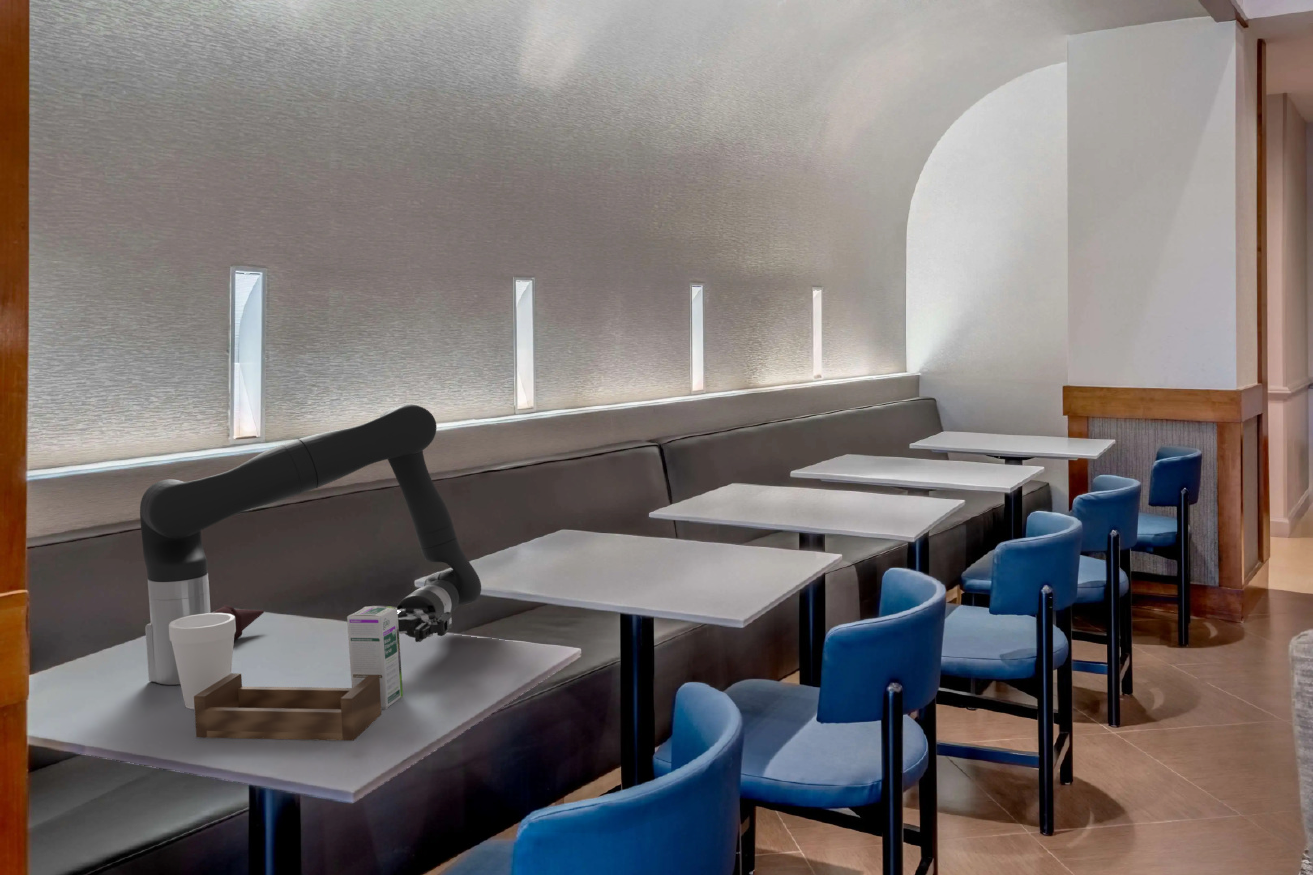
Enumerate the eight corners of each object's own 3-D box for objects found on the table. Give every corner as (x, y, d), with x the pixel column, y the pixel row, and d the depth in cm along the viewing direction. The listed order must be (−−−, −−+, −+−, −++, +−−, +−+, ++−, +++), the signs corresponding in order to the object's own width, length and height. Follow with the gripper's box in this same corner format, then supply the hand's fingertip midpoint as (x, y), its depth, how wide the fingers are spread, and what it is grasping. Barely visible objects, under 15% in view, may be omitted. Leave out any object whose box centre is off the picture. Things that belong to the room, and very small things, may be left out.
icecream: (247, 596, 210) (176, 620, 198) (268, 591, 205) (197, 615, 193) (257, 630, 210) (187, 655, 198) (278, 625, 205) (208, 652, 193)
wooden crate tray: (196, 737, 151) (193, 696, 150) (233, 711, 161) (231, 673, 161) (353, 740, 148) (351, 698, 148) (381, 714, 159) (379, 675, 158)
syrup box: (387, 709, 161) (382, 615, 159) (351, 707, 162) (346, 614, 161) (403, 697, 166) (399, 605, 165) (368, 695, 167) (364, 604, 166)
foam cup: (195, 716, 160) (190, 631, 158) (162, 705, 165) (156, 623, 164) (252, 698, 167) (247, 617, 166) (218, 688, 173) (213, 610, 171)
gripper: (384, 589, 187) (347, 612, 171) (463, 589, 185) (433, 612, 169) (386, 631, 187) (349, 658, 171) (464, 631, 186) (435, 659, 170)
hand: (391, 635), depth 170 cm, fingers open, 8 cm apart
